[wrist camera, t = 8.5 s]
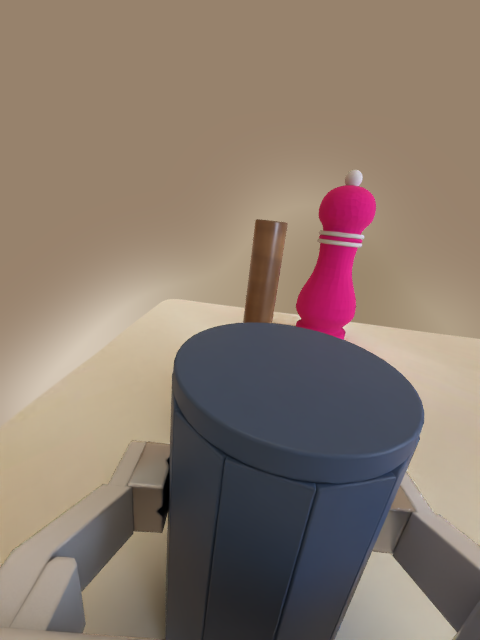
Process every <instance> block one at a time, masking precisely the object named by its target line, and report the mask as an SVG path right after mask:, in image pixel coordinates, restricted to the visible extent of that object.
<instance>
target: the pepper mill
mask: <svg viewBox="0 0 480 640" xmlns="http://www.w3.org/2000/svg"><path fill="white" fill-rule="evenodd" d="M361 181H362V173H361V172H360V171H358V170H352V171H350V172H349V173H348V174H347V175H346V177H345V184H346V185H345V186H341V187H337V188H335V189H333V190H331V191H330V192H328V194H327V195H326V196H325V197H324V199H323V200H322V203H321V205H320V208H319V219H320V221H321V222H322V225H323V231H320V232H319V234H320V236H319V239H318V242H319V243H321V244H320V252H319V257H318V261H317V264H316V266H315V269H314V271H313V273H312V275H311V276H310V278H309V279H308V281H307V282H306V284H305V285H304V287H303V288H302V290H301V292H300V294H299V296H298V299H297V304H296V309H297V312H298V314H299V315H300V317H301V320H299V321H297V323H296V327H301V328H306V329H310V330H314V331H318V332H322V333H325V334H328V335H331V336H334V337H337V338H340V339H343V340H344V336H345V331H344V329H343V328H342V327H343V326H344V325H346V324H348V323H349V322H350V321H351V320H352V319H353V317H354V314H355V308H356V299H355V293H354V288H353V282H352V266H353V260H354V256H355V254H356V251H357V248H358V247H362V244H361V243H362V240H361V239H363V238H364V236H363V235H361V233H362V231H363V230H364V229H365V228H366V227H367V226H368V225H369V224H370V223H371V222H372V220H373V218H374V215H375V211H376V203H375V199H374V197H373V196H372V194H371V193H370V192H369V191H368V190H366V189H364V188H363V187H359V185H360V183H361Z"/></svg>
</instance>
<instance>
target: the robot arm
mask: <svg viewBox="0 0 480 640" xmlns="http://www.w3.org/2000/svg"><path fill="white" fill-rule="evenodd" d="M169 466H170V444H163V443H155V442H144V441H136V440H132V441H131V442H130V443H129V445H128V447H127V449H126V450H125V452H124V454H123V456H122V458H121V460H120V462H119V464H118V466H117V468H116V469H115V471H114V473H113V475H112V477H111V479H110V481H109V483H108V484H102V485H101V486H99V487H98V488H97V489H95V490H94V491H93V492H91V493H90V494H88V495H87V496H86V497H84V498H83V499H82V500H80V501H79V502H78V503H76V504H75V505H73V506H72V507H71V508H69V509H68V510H67V511H65V512H64V513H63V514H61V515H60V516H59V517H57V518H56V519H54V520H53V521H52V522H50V523H49V524H48V525H46V526H45V527H44V528H42V529H41V530H39V531H38V532H37V533H35V534H34V535H33V536H31V537H30V538H29V539H27V540H26V541H24V542H23V543H22V544H20V545H19V546H18V547H16V548H15V549H14V550H12V552H11V553H10V554H9V556H8V557H7V559H6V560H5V561H4V563H3V564H2V566H1V567H0V640H162V639H149V638H136V637H123V636H110V635H97V634H84V633H83V630H84V627H85V625H86V622H85V615H84V608H83V602H82V595H81V592H82V591H83V590H84V589H85V587H86V586H87V585H88V584H89V583H90V582H91V581H92V579H93V578H94V577H95V576H96V575H97V574H98V573H99V572H100V570H101V569H102V568H103V567H104V566H105V565H106V564H107V563H108V561H109V560H110V559H111V558H112V557H113V556H114V555H115V554H116V552H117V551H118V550H119V549H120V548H121V547H122V546H123V544H124V543H125V542H126V541H127V540H128V539H129V538H130V537H131V535H132V534H133V531H137V532H156V533H162V532H163V528H164V525H165V521H166V517H167V513H168V506H169V470H170V467H169ZM372 551H374V552H382V553H390V554H393V557H394V558H395V559H396V560H397V561H398V563H399V564H400V565H401V566H402V567H403V569H404V570H405V571H406V572H407V573H408V574H409V576H410V577H411V578H412V579H413V580H414V582H415V583H416V584H417V585H418V586H419V588H420V589H421V590H422V591H423V592H424V593H425V595H426V596H427V597H428V598H429V599H430V601H431V602H432V603H433V604H434V605H435V607H436V608H437V609H438V610H439V611H440V613H441V614H442V615H443V616H444V617H445V618H446V620H447V621H448V622H449V623H450V624H451V626H452V627H453V628H454V629H455V630H456V632H457V634H456V635H455V637H454V638H453V640H480V546H479V545H478V544H476V543H475V542H474V541H473V540H471V539H470V538H469V537H467V536H466V535H465V534H464V533H462V532H461V531H460V530H459V529H457V528H456V527H455V526H453V525H452V524H451V523H450V522H448V521H447V520H446V519H445V518H443V517H442V516H441V515H439V514H434V512H433V511H432V509H431V508H430V506H429V505H428V503H427V502H426V500H425V499H424V497H423V496H422V494H421V493H420V491H419V490H418V488H417V487H416V485H415V484H414V482H413V481H412V479H411V478H410V476H409V475H408V473H407V472H405V475H404V477H403V480H402V482H401V484H400V487H399V489H398V491H397V494H396V496H395V498H394V501H393V503H392V505H391V508H390V510H389V512H388V515H387V517H386V519H385V522H384V524H383V527H382V529H381V531H380V534H379V536H378V538H377V541H376V543H375V545H374V548H373V550H372Z"/></svg>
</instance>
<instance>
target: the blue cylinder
mask: <svg viewBox="0 0 480 640" xmlns="http://www.w3.org/2000/svg"><path fill="white" fill-rule="evenodd" d="M423 424H424V409H423V405H422V401H421V399H420V397H419V395H418V393H417V391H416V390H415V389H414V387H413V386H412V385H411V383H410V382H409V381H408V380H407V379H406V378H405V377H404V376H403V375H402V374H401V373H400V372H399V371H397V370H396V369H395V368H394V367H392V366H391V365H390V364H388V363H387V362H386V361H384V360H382V359H381V358H379V357H378V356H376V355H374V354H372V353H371V352H369V351H367V350H365V349H363V348H361V347H359V346H357V345H355V344H352V343H350V342H347V341H345V340H343V339H340V338H337V337H334V336H331V335H328V334H325V333H322V332H318V331H314V330H310V329H306V328H301V327H296V326H291V325H284V324H275V323H258V322H255V323H235V324H227V325H222V326H217V327H213V328H210V329H207V330H204V331H202V332H200V333H198V334H196V335H194V336H192V337H191V338H190V339H188V340H187V341H186V342H185V343H184V344H183V345H182V346H181V348H180V349H179V351H178V352H177V354H176V357H175V360H174V369H173V374H172V401H171V434H170V466H169V467H170V470H169V506H168V532H167V564H166V631H165V640H334V639H335V637H336V635H337V632H338V630H339V628H340V625H341V623H342V621H343V618H344V616H345V614H346V611H347V609H348V606H349V604H350V602H351V599H352V597H353V595H354V592H355V590H356V588H357V585H358V583H359V581H360V578H361V576H362V574H363V571H364V569H365V566H366V564H367V562H368V559H369V557H370V555H371V552H372V550H373V548H374V545H375V543H376V541H377V538H378V536H379V534H380V531H381V529H382V527H383V524H384V522H385V519H386V517H387V515H388V512H389V510H390V508H391V505H392V503H393V501H394V498H395V496H396V494H397V491H398V489H399V487H400V484H401V482H402V480H403V477H404V475H405V472H406V470H407V468H408V465H409V463H410V461H411V458H412V456H413V454H414V451H415V449H416V447H417V444H418V442H419V440H420V437H419V435H420V432H421V430H422V427H423Z"/></svg>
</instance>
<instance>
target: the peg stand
mask: <svg viewBox="0 0 480 640" xmlns="http://www.w3.org/2000/svg"><path fill="white" fill-rule="evenodd" d="M286 231H287V223H285V222H277V221H268V220H258V219H257V220H256V222H255V230H254V238H253V247H252V255H251V264H250V272H249V280H248V289H247V296H246V305H245V313H244V321H243V323H255V322H258V323H272V319H273V312H274V306H275V300H276V293H277V287H278V281H279V275H280V268H281V262H282V256H283V249H284V243H285V237H286Z"/></svg>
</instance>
